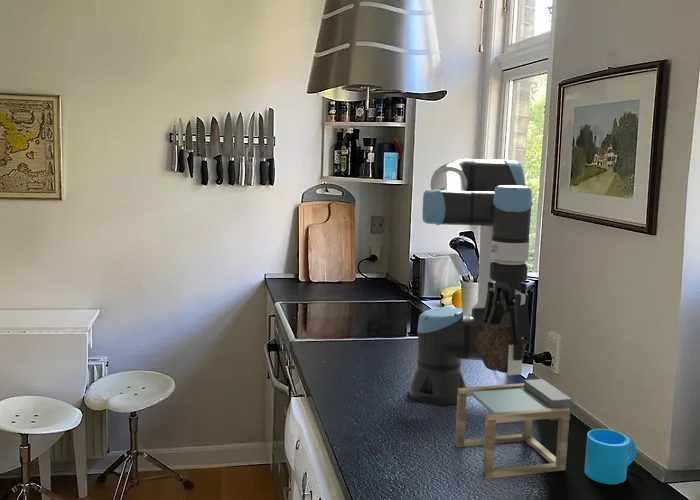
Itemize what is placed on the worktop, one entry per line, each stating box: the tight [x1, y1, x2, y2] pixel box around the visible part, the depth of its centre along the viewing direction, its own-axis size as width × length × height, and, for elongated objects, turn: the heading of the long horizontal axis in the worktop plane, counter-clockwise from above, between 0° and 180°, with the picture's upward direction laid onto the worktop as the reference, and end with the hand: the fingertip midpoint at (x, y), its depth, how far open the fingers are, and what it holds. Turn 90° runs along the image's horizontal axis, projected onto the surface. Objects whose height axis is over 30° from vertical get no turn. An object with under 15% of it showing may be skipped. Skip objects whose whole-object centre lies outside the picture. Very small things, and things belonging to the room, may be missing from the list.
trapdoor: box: [471, 378, 573, 422], centre depth 147 cm, size 12×17×4 cm
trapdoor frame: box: [454, 382, 571, 479], centre depth 148 cm, size 16×18×13 cm
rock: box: [474, 324, 527, 374], centre depth 143 cm, size 12×10×10 cm
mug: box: [584, 428, 637, 485], centre depth 142 cm, size 12×8×8 cm
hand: (503, 366), depth 144 cm, fingers closed on rock, 9 cm apart
